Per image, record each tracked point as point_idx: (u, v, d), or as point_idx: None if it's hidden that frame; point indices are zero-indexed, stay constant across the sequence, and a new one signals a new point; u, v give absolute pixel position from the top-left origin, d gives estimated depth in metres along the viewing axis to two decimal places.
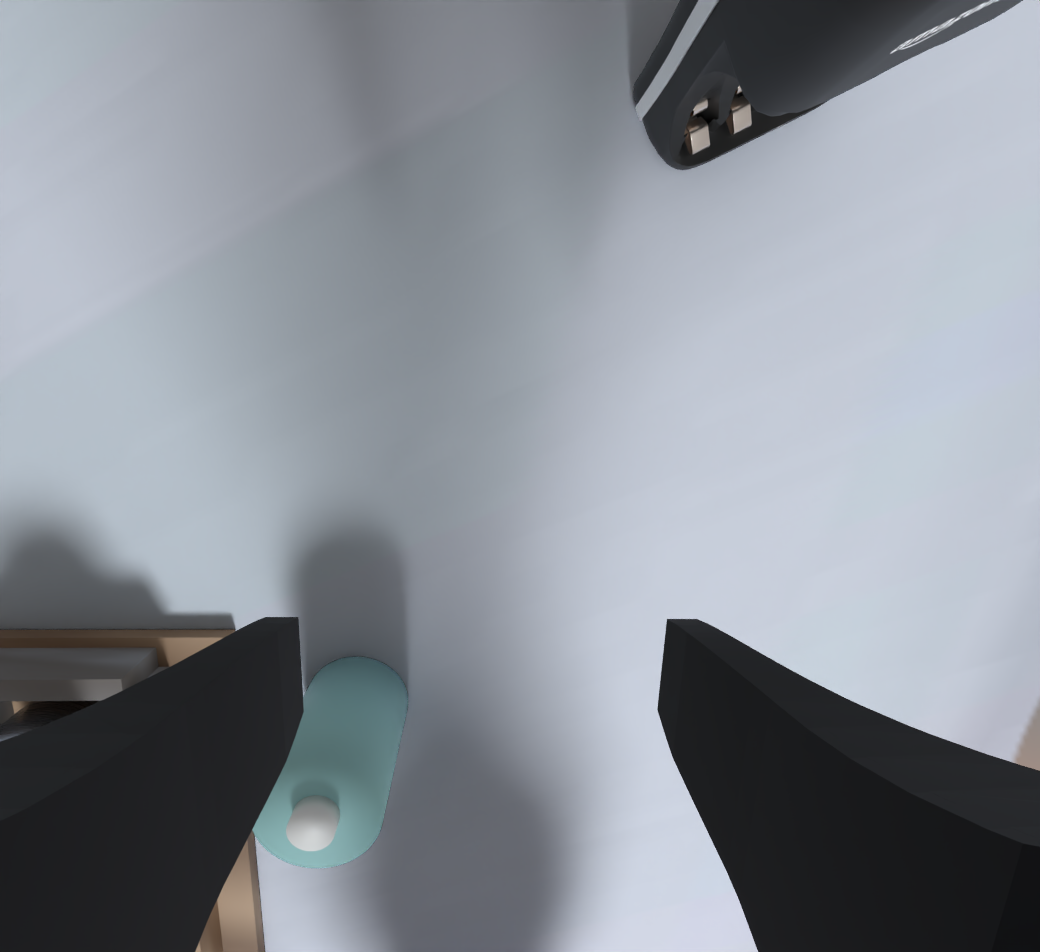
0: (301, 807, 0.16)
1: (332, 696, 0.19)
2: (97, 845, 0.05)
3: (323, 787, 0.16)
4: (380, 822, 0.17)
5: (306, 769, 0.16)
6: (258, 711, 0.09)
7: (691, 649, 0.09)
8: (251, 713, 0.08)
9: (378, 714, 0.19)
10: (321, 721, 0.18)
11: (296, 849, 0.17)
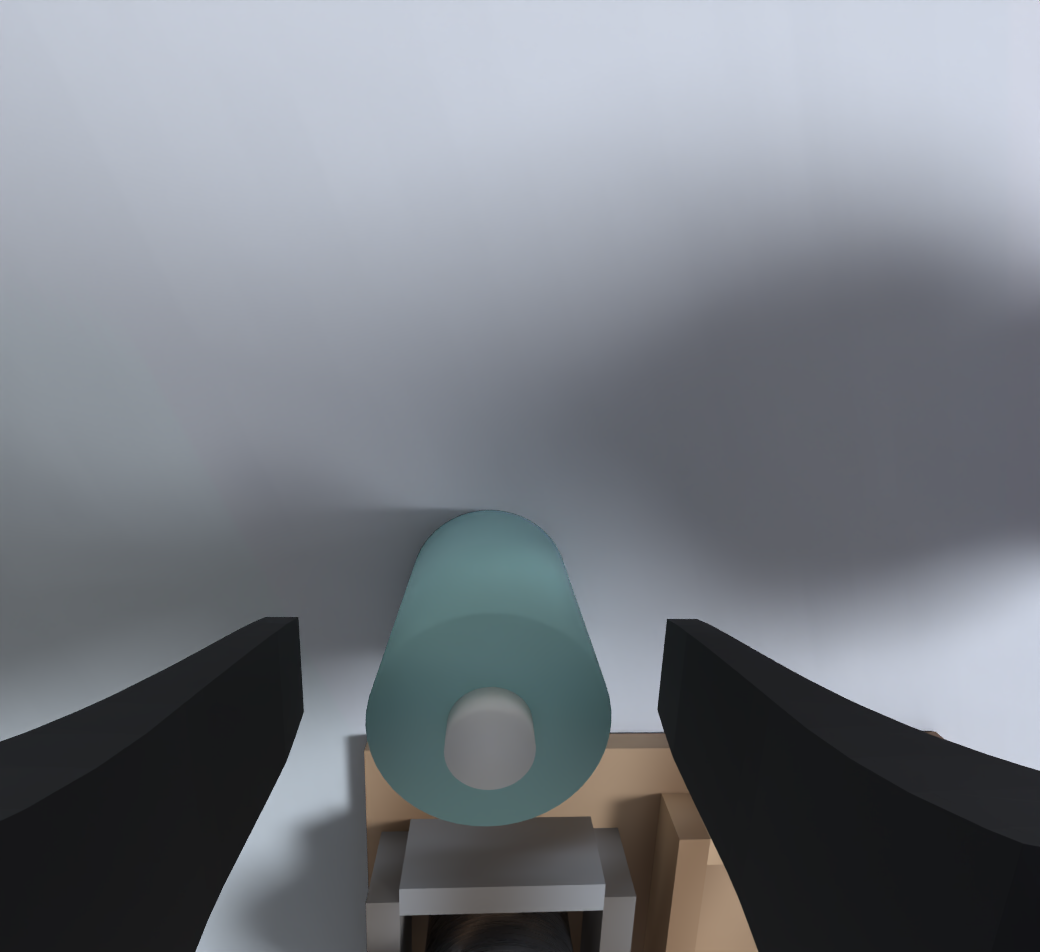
0: None
1: None
2: (97, 844, 0.05)
3: (429, 711, 0.09)
4: (514, 618, 0.09)
5: (389, 736, 0.09)
6: (258, 711, 0.09)
7: (691, 649, 0.09)
8: (251, 713, 0.08)
9: (421, 576, 0.11)
10: None
11: (562, 760, 0.09)
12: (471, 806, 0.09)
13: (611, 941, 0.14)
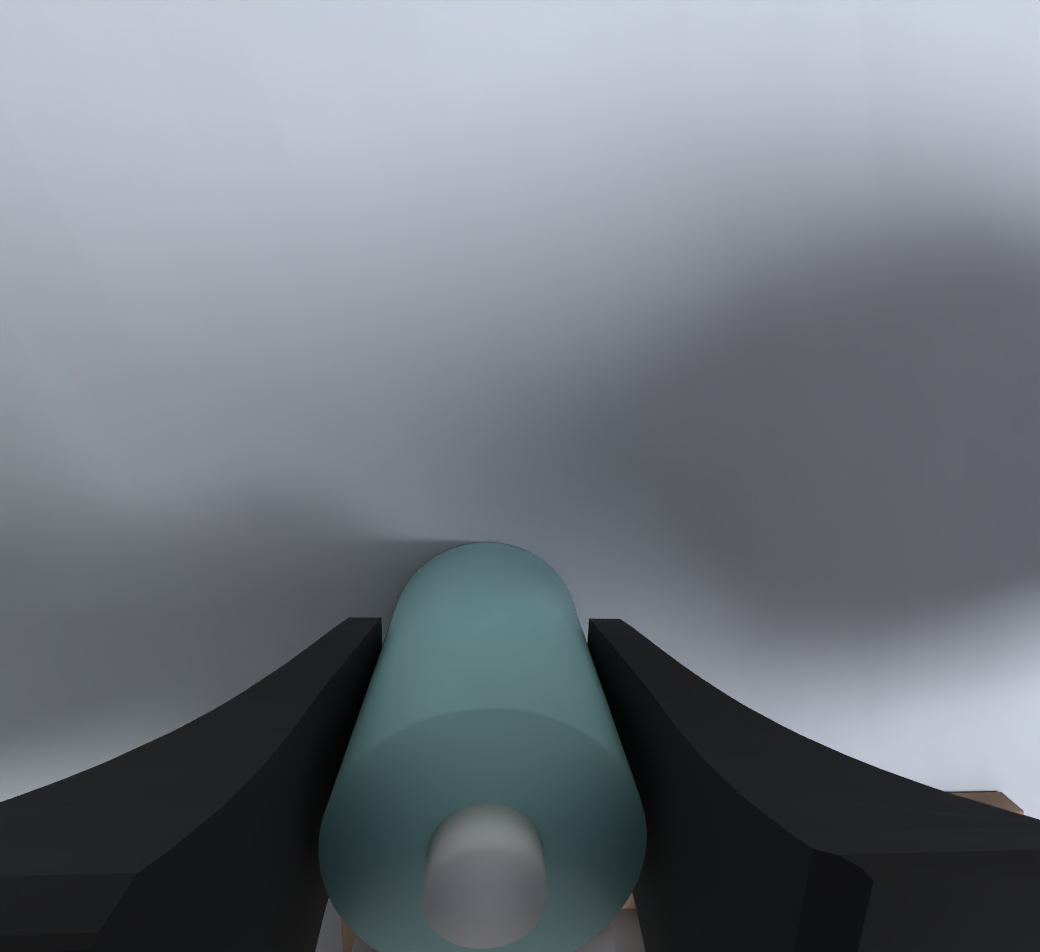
0: None
1: None
2: (262, 840, 0.05)
3: (404, 836, 0.07)
4: (518, 715, 0.06)
5: (351, 869, 0.07)
6: (357, 710, 0.09)
7: (603, 649, 0.09)
8: (352, 712, 0.08)
9: (399, 635, 0.09)
10: None
11: (582, 894, 0.07)
12: None
13: None
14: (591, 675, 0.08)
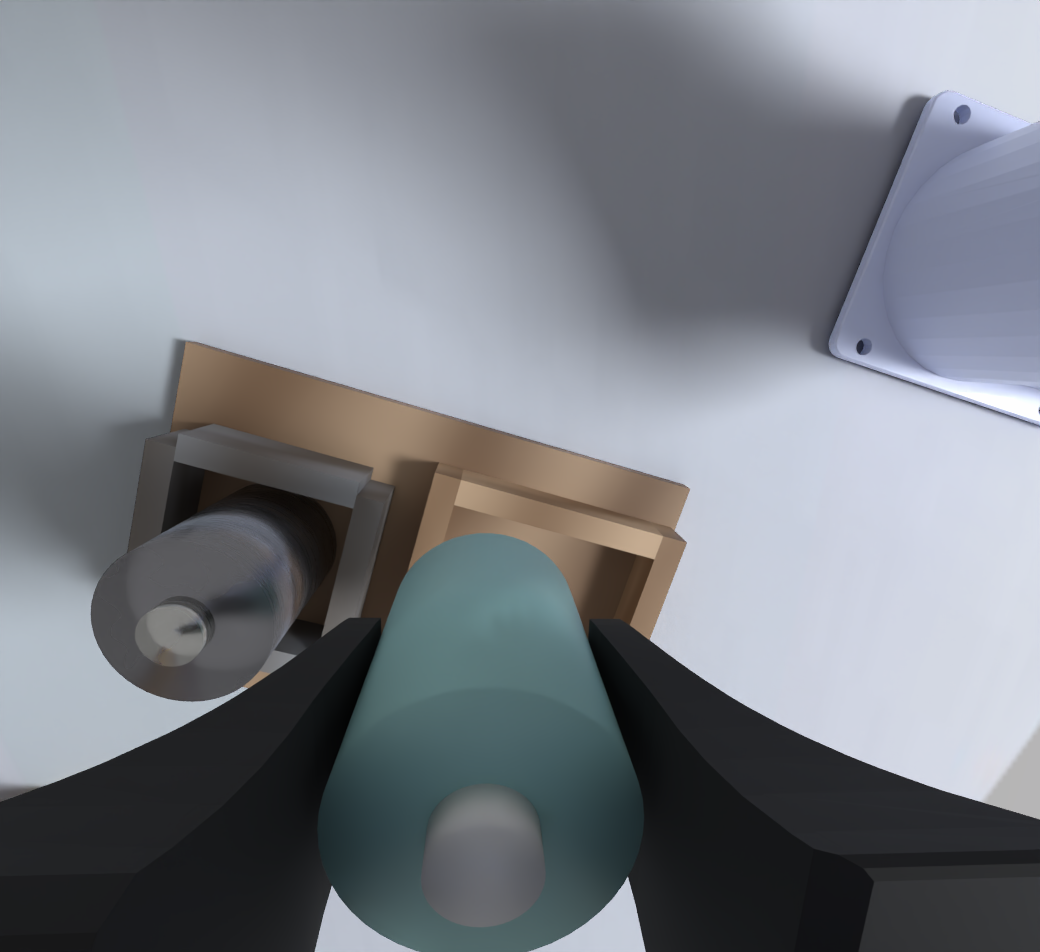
0: None
1: None
2: (261, 841, 0.05)
3: (401, 822, 0.07)
4: (501, 692, 0.06)
5: (352, 859, 0.07)
6: None
7: (603, 649, 0.09)
8: (352, 713, 0.08)
9: (391, 629, 0.09)
10: None
11: (584, 867, 0.07)
12: (470, 935, 0.07)
13: (354, 542, 0.16)
14: (582, 652, 0.08)
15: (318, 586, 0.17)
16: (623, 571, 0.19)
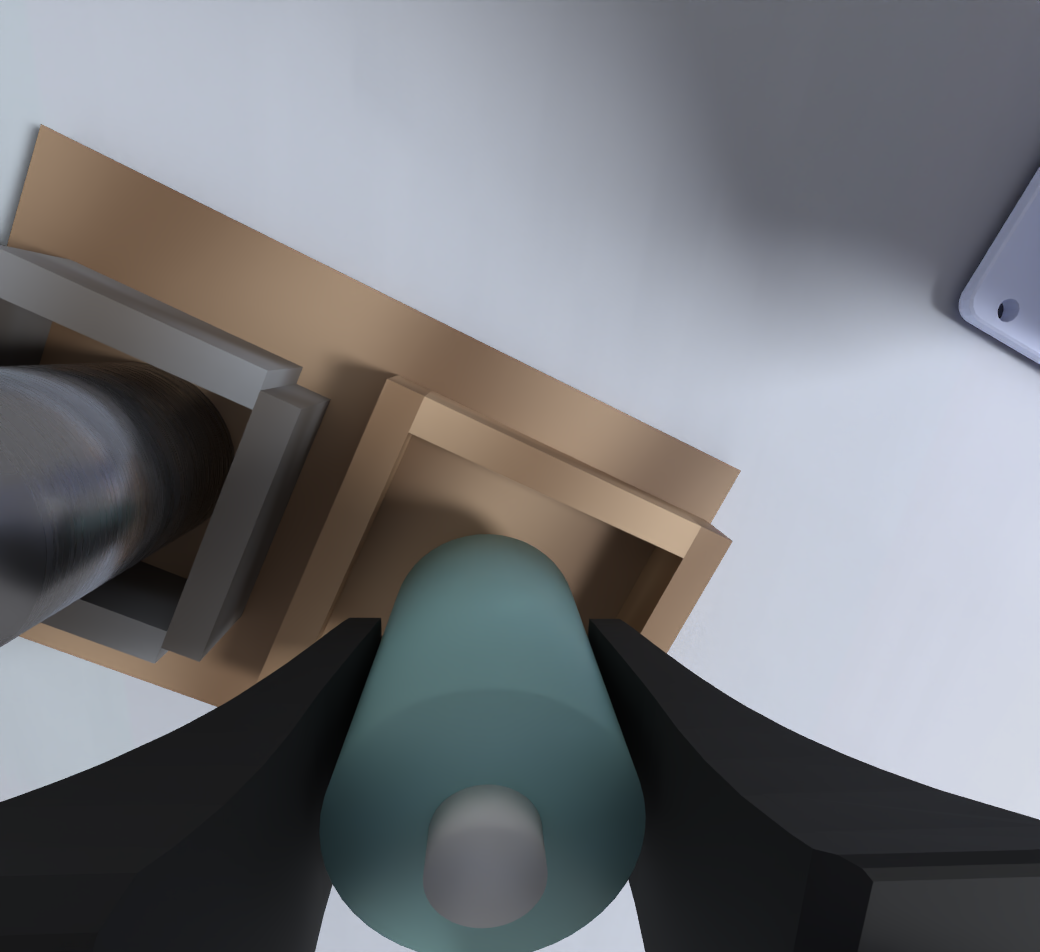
0: None
1: None
2: (261, 841, 0.05)
3: (403, 824, 0.07)
4: (502, 693, 0.06)
5: (354, 861, 0.07)
6: None
7: (603, 649, 0.09)
8: (352, 712, 0.08)
9: (391, 631, 0.09)
10: None
11: (586, 868, 0.07)
12: (473, 936, 0.07)
13: (248, 463, 0.10)
14: (583, 653, 0.08)
15: (190, 524, 0.11)
16: (631, 571, 0.14)
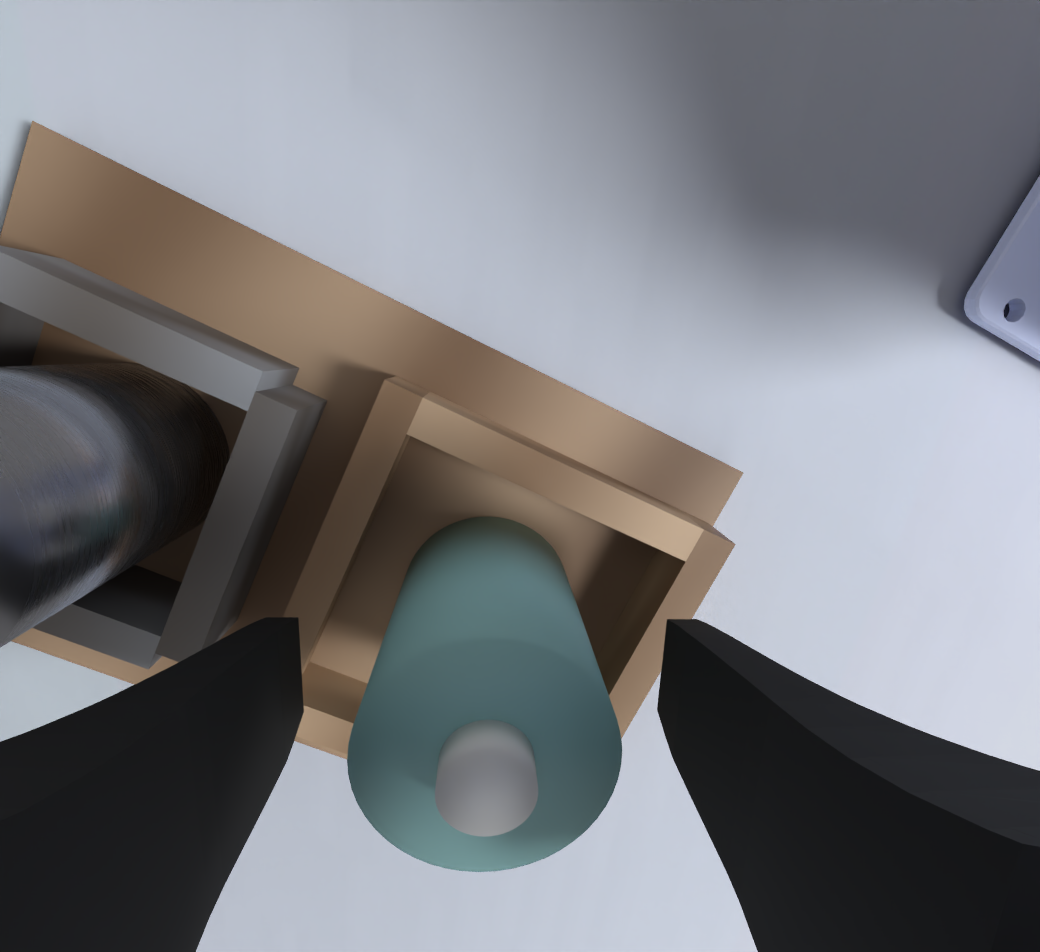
0: None
1: None
2: (97, 844, 0.05)
3: (418, 753, 0.08)
4: (501, 642, 0.08)
5: (376, 784, 0.08)
6: (258, 711, 0.09)
7: (691, 649, 0.09)
8: (251, 713, 0.08)
9: (404, 598, 0.10)
10: None
11: (572, 792, 0.08)
12: (476, 851, 0.08)
13: (243, 465, 0.10)
14: (571, 616, 0.10)
15: (184, 527, 0.11)
16: (632, 574, 0.13)
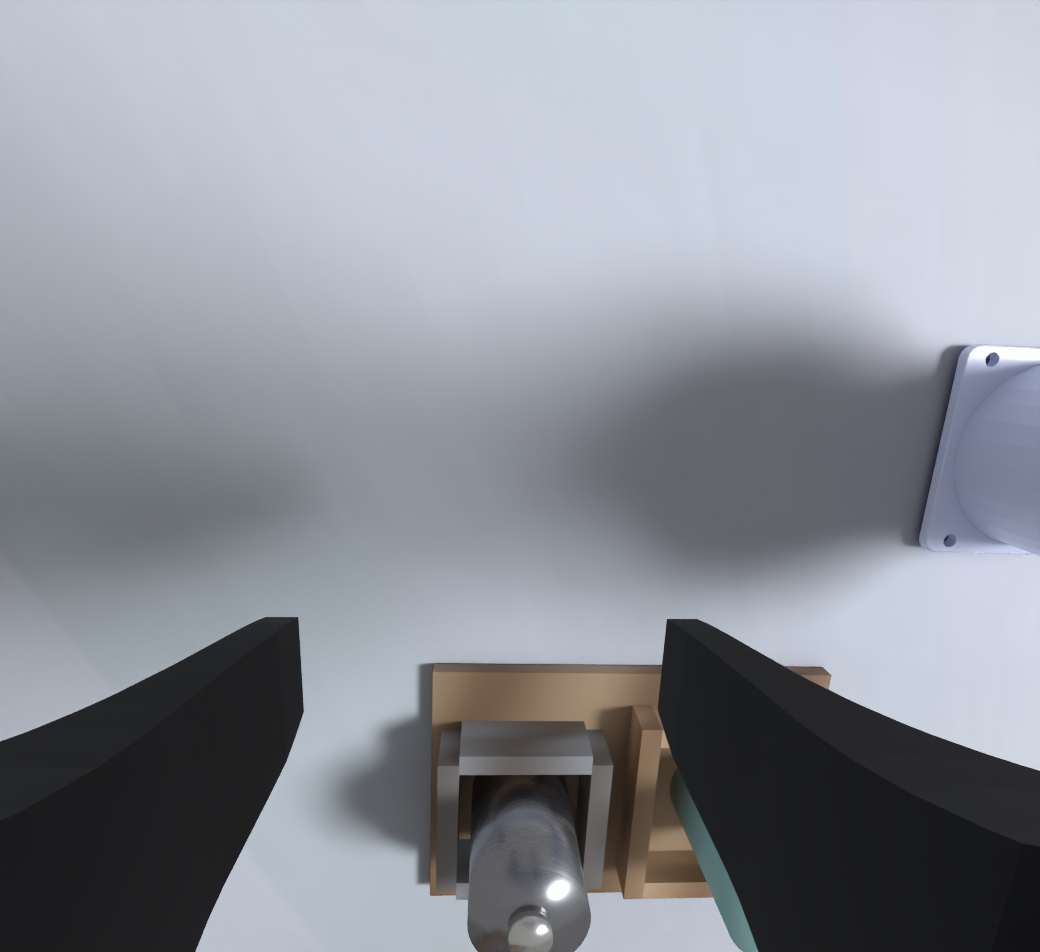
0: None
1: (698, 861, 0.21)
2: (97, 844, 0.05)
3: None
4: None
5: (743, 937, 0.18)
6: (258, 711, 0.09)
7: (691, 649, 0.09)
8: (251, 713, 0.08)
9: (699, 831, 0.21)
10: None
11: None
12: None
13: (596, 796, 0.21)
14: None
15: None
16: None
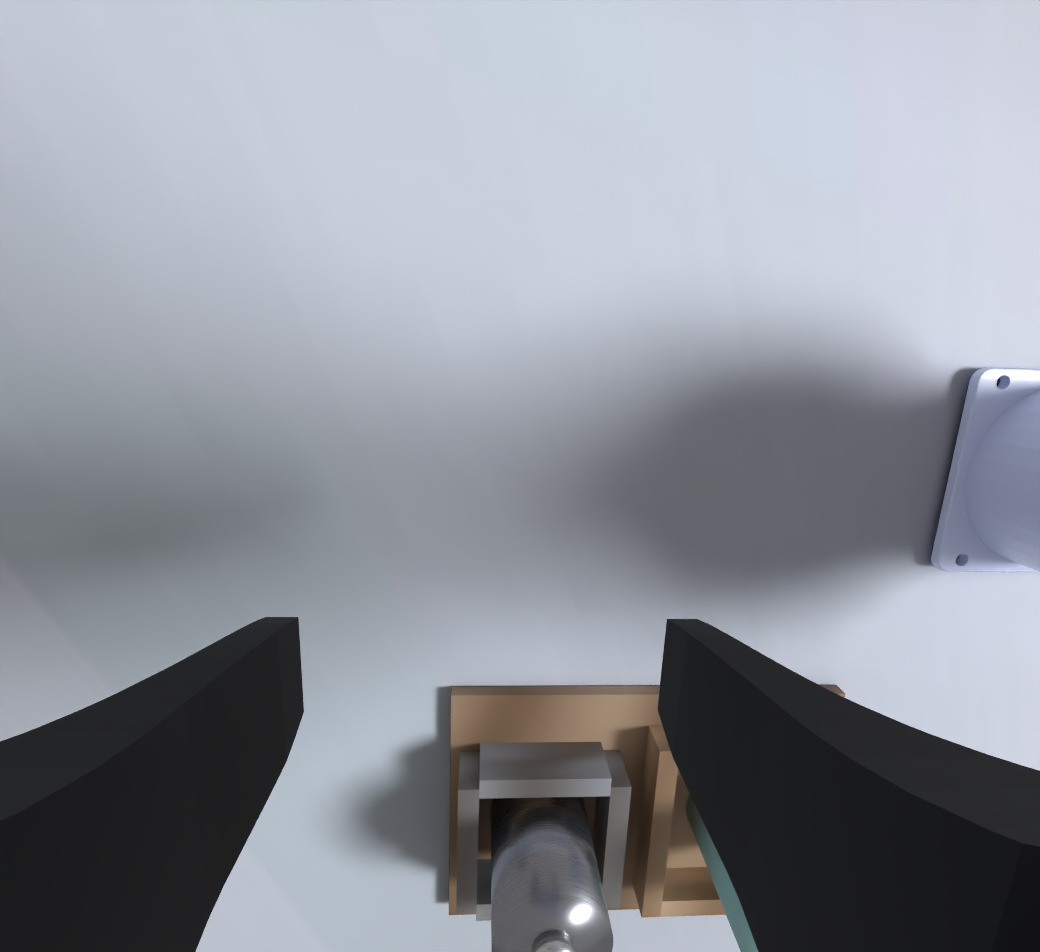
0: None
1: (713, 880, 0.21)
2: (97, 844, 0.05)
3: None
4: None
5: None
6: (258, 711, 0.09)
7: (691, 649, 0.09)
8: (251, 714, 0.08)
9: (715, 852, 0.21)
10: None
11: None
12: None
13: (615, 817, 0.21)
14: None
15: None
16: None
